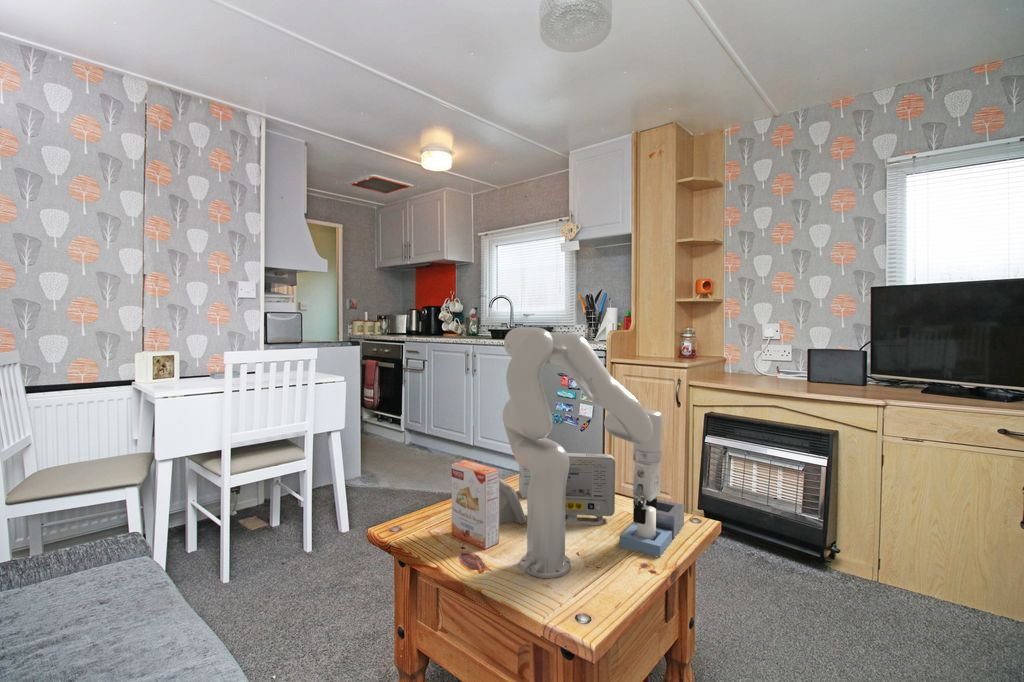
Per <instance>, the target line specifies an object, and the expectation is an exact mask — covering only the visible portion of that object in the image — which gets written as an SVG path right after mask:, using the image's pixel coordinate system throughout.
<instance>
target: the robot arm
mask: <svg viewBox="0 0 1024 682" xmlns="http://www.w3.org/2000/svg"><path fill="white" fill-rule="evenodd" d="M503 345H504V349H505V352H506V354H507V355H508V356H509V357H510V361H509V362H508V365H507V367H506V368H507V369H506V376H505V381H506V383H505V384H506V387H507V392H508V396H509V399H508V400H507V401H506V403H505V404H504V407H503V410H502V423H503V427H504V430H505V433H506V436H507V440H508V442H509V445H510V449H511V451H512V454H513V456H514V459H515V461H516V462H517V464H518V466H519V465H521V466H522V467H523V468H524V469H526V470H528V471H529V472H530V473H531V481H530V484H529V487H528V494H527V498H526V504H527V507H526V509H527V511H526V514H527V515H526V516H527V518H526V523H527V524H526V528H527V529H526V530H527V531H526V536H527V537H526V541H527V542H526V552H525V554H524V555H523V556H521V559H520V564H519V566H518V569H519V570H518V571H520V572H521V573H527V574H528V575H530V576H531V577H532V576H533V577H537V578H541V579H542V578H543V579H553V578H561V577H563V576H564V575H566V574H568V573H569V572H570V571H571V569H572V561H571V559H570V558H569V557H568V556H567V555H566V524H565V520H566V514H565V508H566V505H565V498H566V483H567V477H568V472H569V457H568V454H567V453H568V452H567V451H566V450H565V448H564V447H563V446H562V445H561V444H559V443H558V442H556V441H554V440H552V439H550V438H547V437H548V436H549V435H550V434H551V432H552V430H553V424H554V422H553V421H554V420H553V414H552V412H551V408H550V406H549V403H548V399H547V396H546V392H545V390H544V385H543V381H542V375H543V373H542V372H543V369H544V368H545V367H544V366H545V364H548V365H549V364H550V365H551V364H552V365H559V366H562V367H563V368H564V369H565V370H566V372H567V373H568V374H569V376H570V377H571V378H572V379H573V381H574V382H575V384H576V386H578V388H579V390H580V392H582V394H583V395H584V396H585V397H586V398H588V400H590V401H591V402H593V403H595V404H596V405H598V406H600V407H602V408H603V409H604V410H606V411H607V412H608V414H606V416H605V418H604V423H603V425H604V428H605V430H606V431H607V432H608V434H609V435H611V436H613V437H615V438H617V439H621V440H624V441H627V442H630V443H632V445H633V448H632V461H634V462H635V463H634V464H635V465H634V471H633V486H632V487H633V489H632V493H633V496H632V497H633V501H632V502H633V504H632V507H633V510H632V512H633V513H632V515H633V517H632V518H633V519H632V521H633V523H640V524H645V523H646V509H645V505H646V506H651V507H654V508H655V509H656V512H657V499H658V496H659V495H660V493H661V489H662V488H661V487H662V486H661V485H662V484H661V481H662V480H661V479H662V475H661V464H662V455H663V454H662V451H663V450H662V449H663V424H664V423H663V419H664V418H663V414H662V413H661V412H660V411H658V410H654V409H645V408H644V407H643V405H642V404H641V402H640V401H638V399H637V398H636V397H635V395H633V394H632V393H631V392H630V391H629V390H627V389H626V388H625V387H624V386H623V385H622V384H621V383H620V382H619V381H618V380H616V379H615V378H614V377H613V376H612V375H611V374H610V372H609V371H608V369H607V368H606V367H605V365H604V363H603V361H601V359H600V358H599V356H598V355H597V353H596V351H594V349H593V347H592V346H591V344H590V343H589V341H587V339H586V338H585V337H584V336H582V335H580V334H577V333H567V332H566V333H563V332H552V331H551V332H550V331H548V330H546V329H545V328H543V327H536V326H529V327H528V326H519V327H514V328H512V329H511V330H509V331H508V332H507V333H506V335H505V337H504V340H503Z"/></svg>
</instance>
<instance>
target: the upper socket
mask: <svg viewBox="0 0 1024 682" xmlns="http://www.w3.org/2000/svg"><path fill="white" fill-rule="evenodd" d="M656 499H657V512H656V528H659V529H664V530H668V531H672V538H673V539H672V540H675V539H676V537H677V536H678V535H679V533H680V532H681V531H682V529H683V528H684V527H685V504H682V503H677V502H672V501H667V500H662V499H658V498H656ZM683 526H684V527H683ZM682 527H683V528H682ZM681 528H682V529H681ZM680 530H681V531H680ZM679 531H680V532H679ZM678 532H679V533H678ZM677 534H678V535H677ZM676 535H677V536H676ZM675 536H676V537H675ZM674 538H675V539H674Z"/></svg>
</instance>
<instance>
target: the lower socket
mask: <svg viewBox="0 0 1024 682" xmlns="http://www.w3.org/2000/svg"><path fill="white" fill-rule="evenodd" d="M672 542H673V539H672V531H668V530H664V529H659V528H656V540H655V541H652V540H648V539H644V538H640V537H637V523H636V522H632V524H630V525H629V526H628V527H627V528H626V530H624V532H622V533H621V534H620V535H619V547H620V548H622V549H626V550H629V549H630V550H629V551H634V552H638V553H642V554H644V553H645V555H648V556H651V557H656V556H657V557H656V558H659V557H660V558H661V557H662V556H661V555H663V554H664V553H665V552H664V551H666V550H667V549H668V548H669V546H670V545H671V544H672ZM670 543H671V544H670ZM669 544H670V545H669ZM667 547H668V548H667Z"/></svg>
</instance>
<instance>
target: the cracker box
mask: <svg viewBox="0 0 1024 682" xmlns="http://www.w3.org/2000/svg"><path fill="white" fill-rule="evenodd" d="M499 478H500V469H498V468H493V467H490V466H488V465H484V464H481V463H477V462H473V461H470V460H469V459H468V460H467V459H464V460H461V461H456V462H453V463H451V535H452V536H455V537H457V538H458V539H461V540H463V541H465V540H466V541H465V542H467V541H468V543H469V542H470V544H471V545H474V546H477V547H478V548H481V549H482V550H488V549H490V548H492V547H493V546H496V545H498V544H499V543H500V521H499Z"/></svg>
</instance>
